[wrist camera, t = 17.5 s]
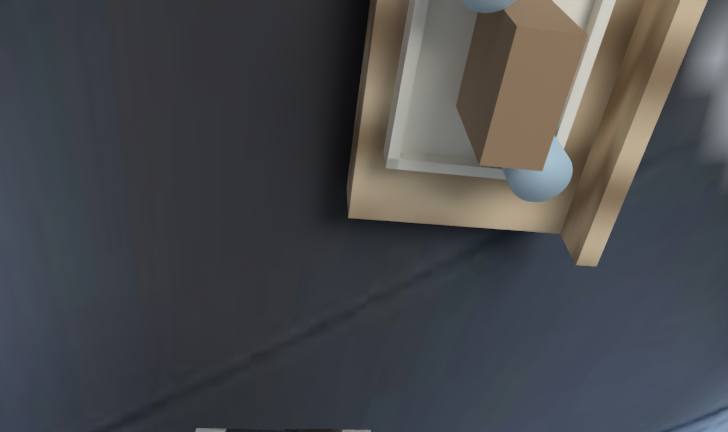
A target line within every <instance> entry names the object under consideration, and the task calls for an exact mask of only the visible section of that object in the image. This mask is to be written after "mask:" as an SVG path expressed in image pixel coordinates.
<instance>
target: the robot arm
mask: <svg viewBox="0 0 728 432" xmlns="http://www.w3.org/2000/svg"><path fill="white" fill-rule="evenodd" d="M195 432H371V431H370V430H342V431H341V429H285V430H252V429H218V428H196V431H195Z"/></svg>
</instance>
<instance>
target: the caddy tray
mask: <svg viewBox="0 0 728 432" xmlns="http://www.w3.org/2000/svg"><path fill="white" fill-rule="evenodd" d="M615 2H616V0H409V6H408V12H407V17H406V23H405V29H404V35H403V41H402V46H401V52H400V58H399V64H398V70H397V75H396V81H395V87H394V93H393V99H392V104H391V110H390V116H389V122H388V128H387V133H386V139H385V145H384V151H383V153H384V159H385V166H386V168H388V169H399V170H409V171H420V172H430V173H441V174H452V175H462V176H473V177H483V178H494V179H504V180H507V181H508V183H509V186H510V188H511V190H512V192H513V193H514V194H515V195H516V196H517V197H518V198H520V199H522V200H524V201H528V202H542V201H546V200H549V199H551V198H553V197H555V196H557V195H558V194H560V193H561V192H562V191H563V190H564V189H565V188H566V187H567V185H568V184H569V182H570V180H571V177H572V172H573V167H572V163H571V160H570V158H569V157H568V155H567V154H566V152H565V151H564V147H565V145H566V142H567V139H568V136H569V133H570V130H571V127H572V125H573V122H574V119H575V116H576V113H577V110H578V107H579V105H580V102H581V99H582V96H583V93H584V90H585V87H586V85H587V82H588V79H589V76H590V73H591V70H592V67H593V65H594V62H595V59H596V56H597V53H598V50H599V47H600V45H601V42H602V39H603V36H604V33H605V30H606V27H607V25H608V22H609V19H610V16H611V13H612V10H613V7H614V5H615Z"/></svg>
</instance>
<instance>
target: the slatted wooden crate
mask: <svg viewBox="0 0 728 432" xmlns="http://www.w3.org/2000/svg"><path fill="white" fill-rule="evenodd" d="M706 3H707V0H616V2H615V5H614V7H613V10H612V13H611V16H610V19H609V22H608V25H607V27H606V30H605V33H604V36H603V39H602V42H601V45H600V47H599V50H598V53H597V56H596V59H595V62H594V65H593V67H592V70H591V73H590V76H589V79H588V82H587V85H586V87H585V90H584V93H583V96H582V99H581V102H580V105H579V107H578V110H577V113H576V116H575V119H574V122H573V125H572V127H571V130H570V133H569V136H568V139H567V142H566V145H565V147H564V151H565V152H566V154H567V155H568V157H569V158H570V160H571V163H572V167H573V172H572V177H571V180H570V182H569V184H568V185H567V187H566V188H565V189H564V190H563V191H562V192H561V193H560V194H558V195H557V196H555V197H553V198H551V199H549V200H546V201H542V202H528V201H524V200H522V199H520V198H518V197H517V196H516V195H515V194H514V193H513V192H512V190H511V188H510V186H509V183H508V181H507V180H504V179H494V178H483V177H473V176H462V175H452V174H441V173H430V172H420V171H409V170H399V169H388V168H386V166H385V159H384V153H383V151H384V145H385V139H386V133H387V128H388V122H389V116H390V110H391V104H392V99H393V93H394V87H395V81H396V75H397V70H398V64H399V58H400V52H401V46H402V41H403V35H404V29H405V23H406V17H407V12H408V6H409V0H370V6H369V14H368V21H367V29H366V37H365V45H364V53H363V61H362V69H361V77H360V85H359V93H358V101H357V108H356V116H355V124H354V132H353V140H352V148H351V156H350V164H349V172H348V180H347V203H348V218H356V219H369V220H383V221H396V222H410V223H423V224H436V225H450V226H463V227H477V228H490V229H503V230H517V231H530V232H544V233H557V234H560V235H561V237H562V239H563V241H564V243H565V244H566V246H567V248H568V250H569V252H570V254H571V256H572V258H573V260H574V262H575V264H576V265H583V266H597V264H598V261H599V259H600V257H601V254H602V252H603V249H604V247H605V245H606V242H607V240H608V237H609V235H610V233H611V230H612V228H613V225H614V223H615V221H616V218H617V216H618V213H619V211H620V209H621V206H622V204H623V202H624V199H625V197H626V194H627V192H628V190H629V187H630V185H631V182H632V180H633V178H634V175H635V173H636V170H637V168H638V166H639V163H640V161H641V158H642V156H643V154H644V151H645V149H646V146H647V144H648V142H649V139H650V137H651V134H652V132H653V130H654V127H655V125H656V122H657V120H658V118H659V115H660V113H661V110H662V108H663V106H664V103H665V101H666V98H667V96H668V94H669V91H670V89H671V86H672V84H673V82H674V79H675V77H676V75H677V72H678V70H679V67H680V65H681V63H682V60H683V58H684V55H685V53H686V51H687V48H688V46H689V43H690V41H691V39H692V36H693V34H694V31H695V29H696V27H697V24H698V22H699V19H700V17H701V15H702V12H703V10H704V7H705V5H706Z"/></svg>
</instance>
